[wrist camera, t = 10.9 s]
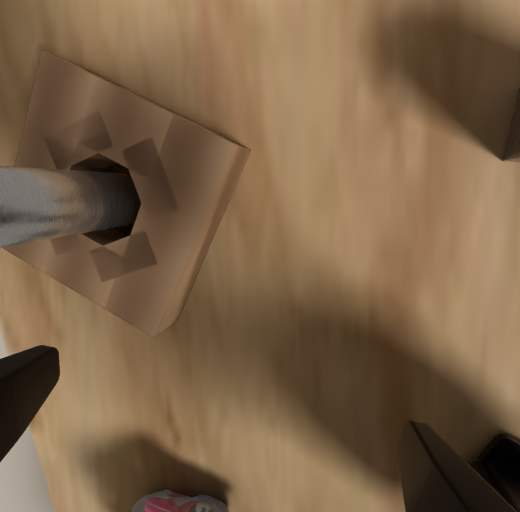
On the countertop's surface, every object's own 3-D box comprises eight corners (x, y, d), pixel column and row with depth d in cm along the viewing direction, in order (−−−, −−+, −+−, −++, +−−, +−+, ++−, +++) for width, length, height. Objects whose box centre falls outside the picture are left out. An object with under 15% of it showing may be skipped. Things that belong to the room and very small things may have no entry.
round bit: (153, 174, 22) (-27, 163, 11) (155, 225, 22) (-14, 259, 12) (109, 172, 22) (-98, 161, 12) (111, 222, 23) (-83, 251, 13)
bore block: (250, 150, 20) (234, 144, 17) (177, 319, 23) (154, 337, 20) (82, 68, 22) (41, 50, 19) (36, 237, 25) (-4, 244, 22)
